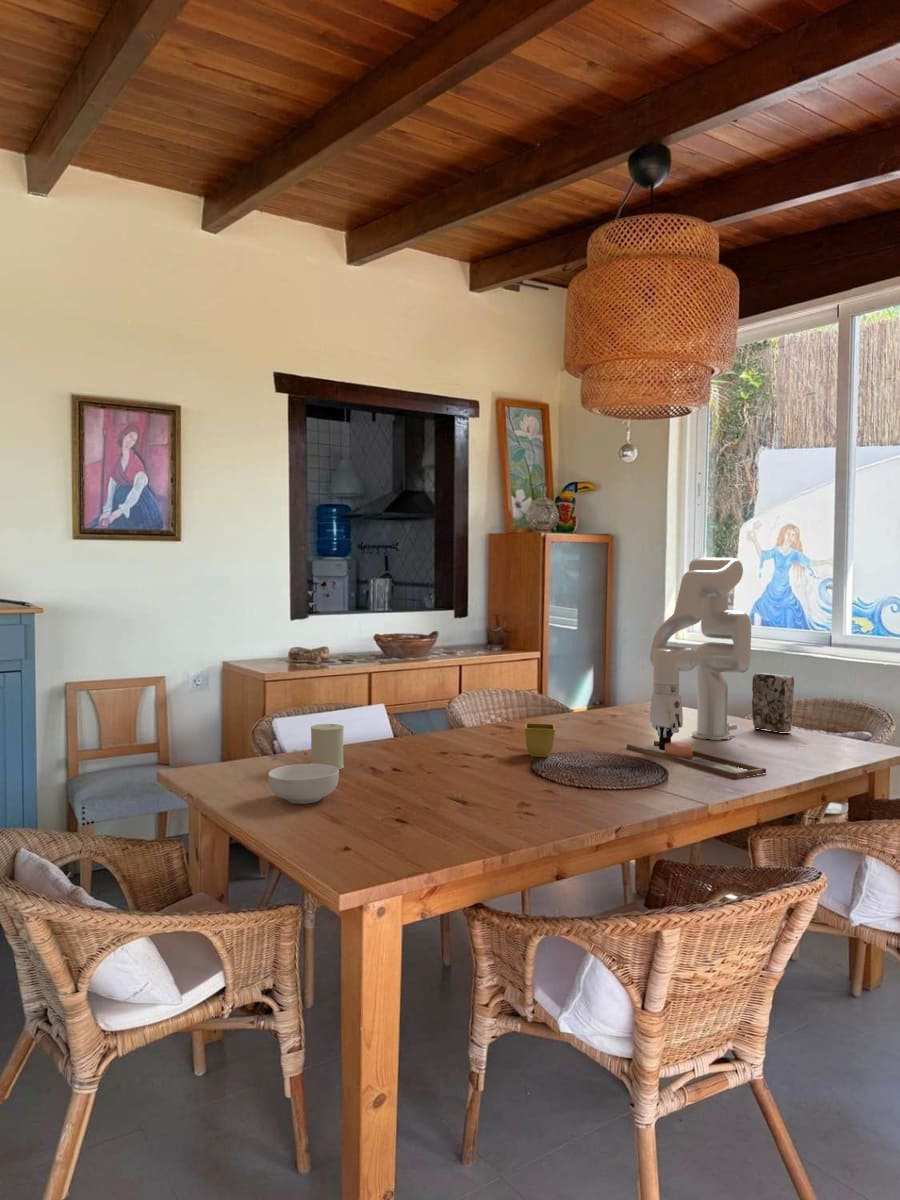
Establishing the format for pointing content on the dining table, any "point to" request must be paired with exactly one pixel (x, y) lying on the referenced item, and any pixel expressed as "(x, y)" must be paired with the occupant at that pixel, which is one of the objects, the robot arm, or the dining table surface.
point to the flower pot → (539, 739)
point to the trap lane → (703, 762)
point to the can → (327, 745)
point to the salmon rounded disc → (679, 750)
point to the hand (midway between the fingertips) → (664, 749)
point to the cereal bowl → (303, 782)
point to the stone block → (772, 701)
